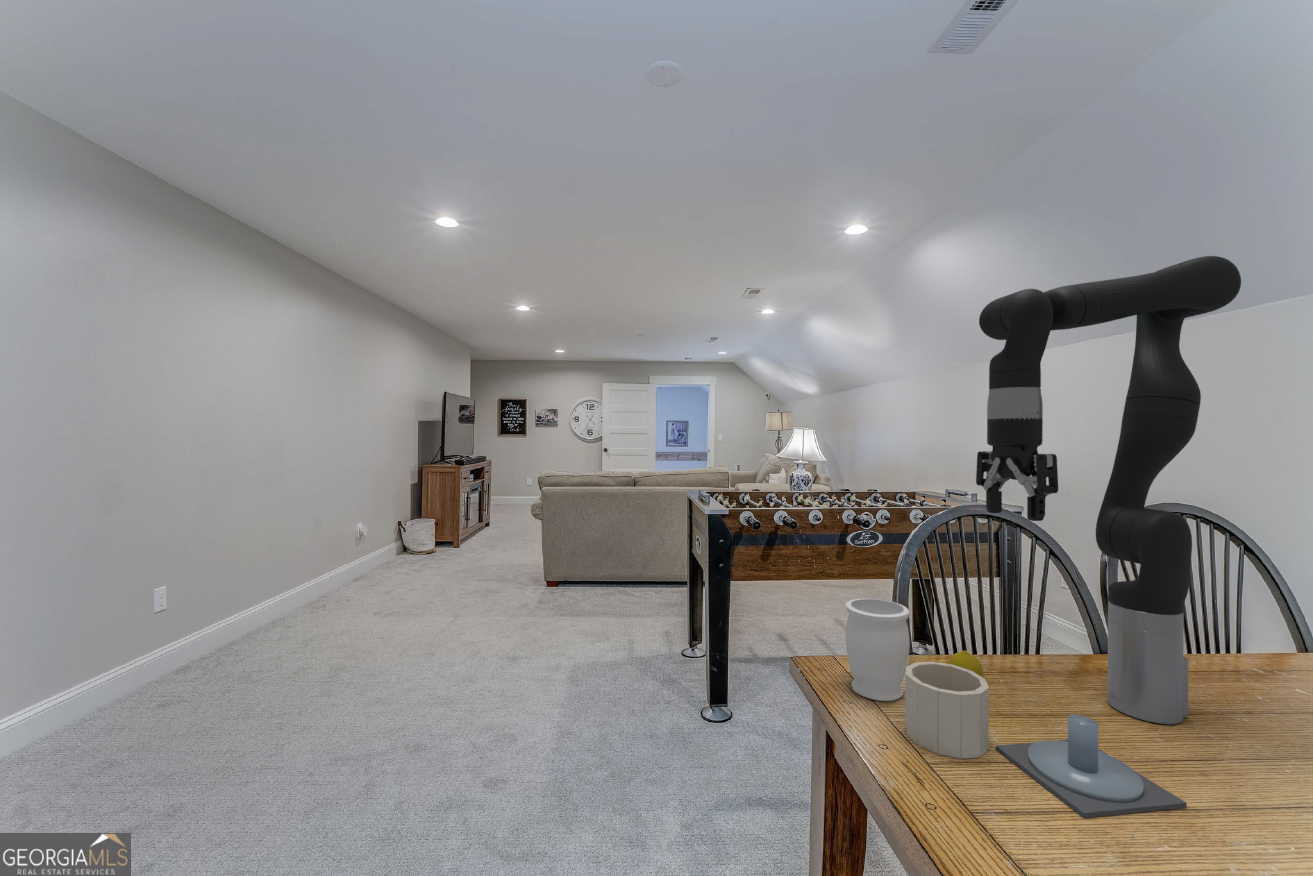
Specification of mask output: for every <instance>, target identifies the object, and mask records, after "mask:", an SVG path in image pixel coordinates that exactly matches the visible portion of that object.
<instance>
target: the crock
mask: <svg viewBox="0 0 1313 876" xmlns="http://www.w3.org/2000/svg"><path fill="white" fill-rule="evenodd" d="M904 702H905V714H904V715H905V719H904V720H905V723H904V724H905V734H906V735H907V736H908V737H909V738H910V739H911V740H912V741H913V742H915V744H916V745H918V746H919V747H921V748H924V749H926V750H929V751H930V752H933V753H934V754H936V755H940V756H945V757H951V758H955V759H961V760H962V759H975V758H981V757H982V756H984V755H985V754H986V753H987V752H988V751H990V750H989V748H990V747H989V745H990V744H989V743H990V742H989V741H990V740H989V739H990V737H989V736H990V735H989V734H990V733H989V728H990V727H989V725H990V721H989V719H990V716H989V715H990V704H989V703H990V687H989V685H988V683H987V679H986V678H985V677H984V678H982V677H981V676H979V675H978V674H976V673H974V672H973V671H971V670H967V669H964V668H961V667H958V666H955V665H952V664H948V663H945V662H937V661H917V662H914V663H912V664H909V665H907V666H906V672H905V701H904Z"/></svg>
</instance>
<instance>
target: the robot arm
mask: <svg viewBox="0 0 1313 876" xmlns="http://www.w3.org/2000/svg"><path fill="white" fill-rule="evenodd" d="M1241 286H1242V277H1241V273H1240V270H1239V269H1238V266H1237V265H1236V264H1234V263H1233V262H1232V261H1230V260H1229V259H1227V258H1225V257H1221V256H1219V255H1218V256H1216V255H1206V256H1199V257H1195V258H1191V259H1188V260H1185V261H1182V262H1179V263H1176V264H1173V265H1170V266H1167V267H1164V268H1162V269H1159V270H1156V271H1154V272H1148V273H1144V274H1138V275H1133V276H1127V277H1119V278H1111V279H1105V280H1098V281H1097V280H1096V281H1090V282H1083V283H1075V284H1071V285H1070V284H1068V285H1063V286H1058V287H1055V288H1052V289H1048V290H1046V291H1042V290H1040V289H1037V288H1036V289H1035V288H1026V289H1025V288H1024V289H1021V290H1018V291H1015V292H1013V293H1010V294H1007V295H1005V296H1004V295H1003V296H1001V297H999V298H996V299H994V300H992V301H991V302H988V303H987V305H985V307H984V308H983V309H982V310H981V312H980V314H979V316H978V317H979V319H978V324H979V328H980V329H981V331H982V332H983V334H985V336H988V338H991V339H993V340H996V341H1005V343H1004V347H1003V349H1002V350H1001V351H1000V352H998V353H997V354H995V355H993V356H992V357H991V359H990V362H989V367H988V369H989V370H988V374H989V375H988V376H989V377H988V396H987V397H988V398H987V404H986V405H987V406H986V411H987V412H986V415H987V416H986V418H987V419H986V442H987V445H988V446H990V447H992V450H990V451H988V450H983V451H978V452H977V454H976V473H975V476H976V477H975V484H976V485H977V486H978V487H979V486H981V487H982V488H983V489H984V490H985V493H986V494H985V500H986V501H985V504H986V505H985V506H986V511H987V513H990V514H1000V513H1002V511H1003V508H1002V507H1003V506H1002V505H1003V491H1002V488H1003V486H1004V485H1005V483H1007V482H1008V481H1010V480H1015V481H1016V480H1017V482H1018V483H1019V485H1022V486H1023V487H1024V489H1025V491H1026V493H1027V495H1028V496H1027V504H1026V505H1027V506H1026V507H1027V508H1026V509H1027V512H1026V514H1027V517H1026V518H1027V520H1028V521H1031V522H1032V521H1033V522H1042V521H1044V519H1045V516H1046V498H1047V496H1049V495H1051V494H1057V493H1058V492H1059V476H1058V475H1059V473H1058V471H1059V470H1058V457H1057V455H1056V454H1055V453H1039V451H1038V447H1040V446H1042V444H1043V431H1044V430H1043V425H1044V424H1043V423H1044V422H1043V412H1044V411H1043V408H1044V407H1043V406H1044V405H1043V395H1042V390H1041V387H1042V378H1041V377H1042V372H1041V371H1042V369H1041V362H1042V359H1043V356H1044V353H1045V350H1046V347H1047V345H1048V344H1047V343H1048V341H1049V336H1050V334H1051V331H1061V330H1062V331H1064V330H1070V329H1071V330H1072V329H1077V328H1083V327H1089V326H1095V325H1100V324H1105V323H1109V322H1113V321H1117V320H1122V319H1125V318H1130V317H1133V316H1136V327H1135V328H1136V329H1135V341H1134V352H1133V358H1132V359H1133V360H1132V364H1131V365H1132V367H1131V370H1130V371H1131V372H1130V378H1129V384H1128V389H1127V392H1126V397H1125V402H1124V407H1123V413H1122V418H1121V427H1120V433H1119V437H1118V438H1119V439H1118V442H1117V443H1118V444H1117V448H1116V453H1115V456H1114V463H1113V466H1112V470H1111V474H1110V476H1109V480H1108V484H1107V486H1106V490H1105V493H1104V497H1103V499H1102V503H1101V506H1100V508H1099V512H1098V517H1097V518H1096V524H1095V525H1096V526H1095V540H1096V544H1097V547H1098V549H1099V550H1100V551H1101V553H1102V554H1104V555H1105V556H1106V557H1109V558H1112V559H1116V560H1119V561H1124V562H1128V563H1129V562H1130V563H1134V564H1138V565H1139V572H1138V577H1137V578H1136V579H1133V580H1126V581H1125V580H1123V581H1115V582H1113V583H1110V584H1109V585H1108V589H1107V600H1108V601H1107V703H1108V704H1109V705H1110V706H1111V707H1113V709H1115V710H1117V711H1118V712H1121V713H1122V714H1124V715H1127V716H1130V717H1133V718H1135V719H1137V720H1138V719H1139V720H1140V721H1141V720H1142V721H1145V722H1151V723H1156V724H1162V725H1163V724H1164V725H1176V724H1180V723H1182V722H1183V721H1184V718H1188V717H1189V707H1188V706H1189V660H1188V657H1186V656H1184V635H1185V634H1184V633H1185V632H1184V623H1185V622H1184V610H1185V608H1184V607H1185V601H1186V599H1187V596H1188V593H1189V589H1190V581H1191V580H1190V576H1191V565H1192V556H1193V555H1192V552H1193V536H1192V532H1191V528H1190V525H1189V523H1188V522H1187V520H1186V519H1185V517H1183V516H1182V515H1180V514H1179V513H1176V512H1174V511H1173V512H1172V511H1169V510H1162V509H1154V508H1145V507H1146V506H1145V505H1146V500H1147V497H1148V494H1149V491H1150V488H1151V486H1152V484H1153V483H1154V481H1155V479H1156V478H1157V476H1158V475H1159V474H1160V473H1161V472H1162V471H1163V470H1164V469H1165V468H1166V466H1167V465H1169V464H1170V462H1172V461H1173V460H1174V459H1175V458H1176V457H1177V456H1178V455H1179V453H1180V452H1182V450H1183V449H1184V448H1186V446H1187V445H1188V444H1189V442H1190V441H1191V440H1192V438H1193V436H1194V434H1195V432H1196V430H1197V429H1196V428H1197V425H1198V419H1199V418H1198V417H1199V413H1200V406H1201V401H1202V395H1201V389H1200V387H1199V384H1198V382H1197V380H1196V378H1195V376H1194V375H1193V373H1192V371H1191V370H1190V368H1189V367H1188V365H1187V364H1186V361H1185V360H1184V359H1183V357H1182V353H1181V349H1180V348H1181V347H1180V343H1181V342H1180V341H1181V332H1182V327H1183V324H1184V321H1185V319H1187V318H1191V317H1196V316H1200V315H1205V314H1207V313H1212V312H1215V311H1217V310H1220V309H1221V308H1223V307H1226V306H1227V305H1229V304H1230V303H1232V301H1234V299H1235V298H1236V297H1237V296H1238V294H1239V292H1240V290H1241ZM985 472H986V477H985V478H984V476H985V475H984V474H985ZM1047 478H1048V479H1047ZM1047 480H1048V485H1047Z"/></svg>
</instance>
